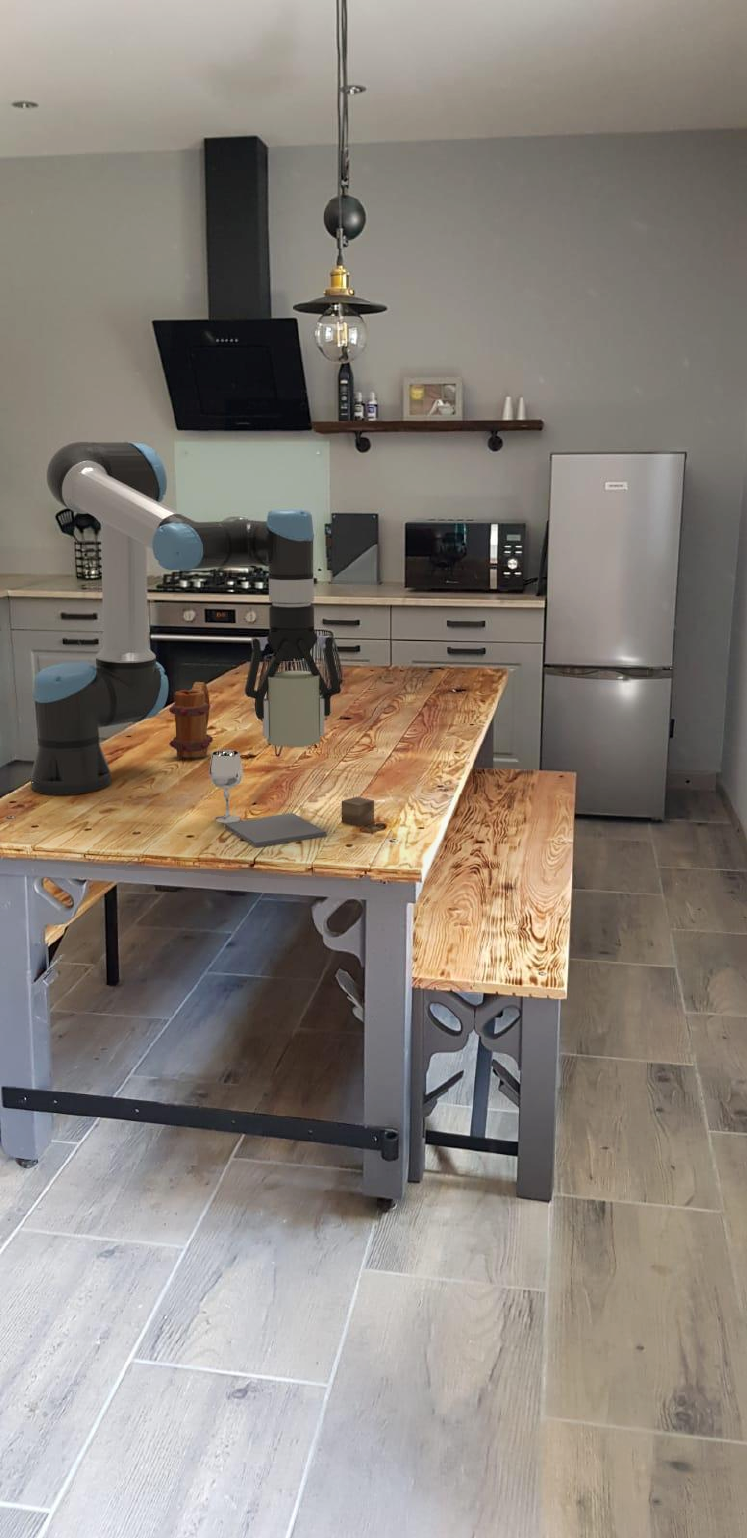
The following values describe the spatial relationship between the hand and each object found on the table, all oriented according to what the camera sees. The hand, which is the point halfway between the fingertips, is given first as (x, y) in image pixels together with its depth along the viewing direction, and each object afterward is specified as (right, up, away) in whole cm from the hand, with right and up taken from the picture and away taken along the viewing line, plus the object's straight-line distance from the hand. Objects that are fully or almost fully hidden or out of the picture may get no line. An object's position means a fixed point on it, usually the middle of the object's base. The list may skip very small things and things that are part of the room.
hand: (293, 735), depth 210 cm
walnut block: (+11, -15, +3) cm, 19 cm away
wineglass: (-12, -15, +5) cm, 20 cm away
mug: (-25, -3, +54) cm, 59 cm away
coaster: (-3, -16, -2) cm, 17 cm away
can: (0, -1, 0) cm, 1 cm away
